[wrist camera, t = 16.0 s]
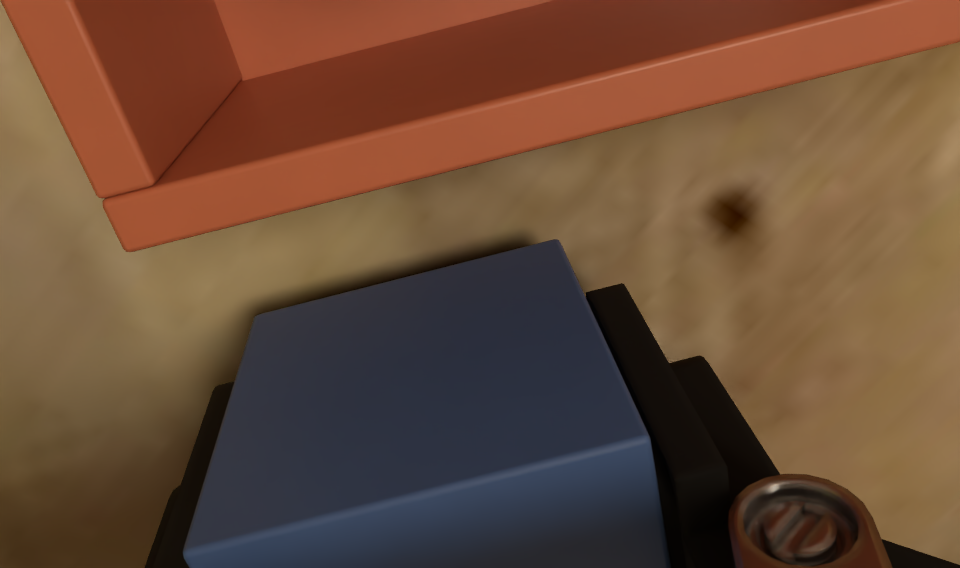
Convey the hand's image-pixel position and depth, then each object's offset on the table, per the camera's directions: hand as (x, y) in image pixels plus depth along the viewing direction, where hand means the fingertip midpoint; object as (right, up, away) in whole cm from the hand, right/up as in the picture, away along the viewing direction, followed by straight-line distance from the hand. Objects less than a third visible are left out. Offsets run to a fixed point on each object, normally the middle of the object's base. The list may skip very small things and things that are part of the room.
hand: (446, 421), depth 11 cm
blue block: (0, 0, 0) cm, 1 cm away
